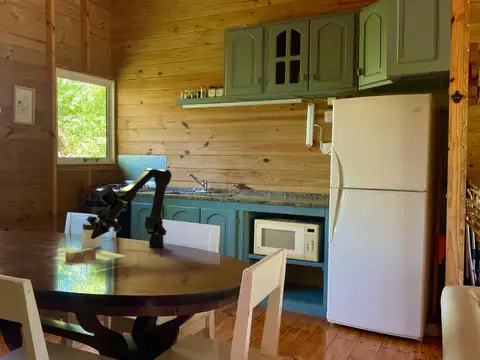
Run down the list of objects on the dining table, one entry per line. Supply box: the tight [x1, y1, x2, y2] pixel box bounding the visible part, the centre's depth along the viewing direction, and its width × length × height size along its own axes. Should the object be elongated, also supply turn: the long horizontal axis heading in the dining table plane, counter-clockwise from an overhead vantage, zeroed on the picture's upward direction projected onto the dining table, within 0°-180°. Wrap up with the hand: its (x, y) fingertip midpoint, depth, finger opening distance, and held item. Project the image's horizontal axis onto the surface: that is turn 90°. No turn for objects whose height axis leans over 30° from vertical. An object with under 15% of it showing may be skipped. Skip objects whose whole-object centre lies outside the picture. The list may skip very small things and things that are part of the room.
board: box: [53, 249, 125, 266], centre depth 199 cm, size 24×20×1 cm
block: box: [65, 248, 97, 264], centre depth 193 cm, size 4×4×12 cm
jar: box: [81, 222, 102, 249], centre depth 221 cm, size 9×8×12 cm
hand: (91, 238), depth 197 cm, fingers closed
